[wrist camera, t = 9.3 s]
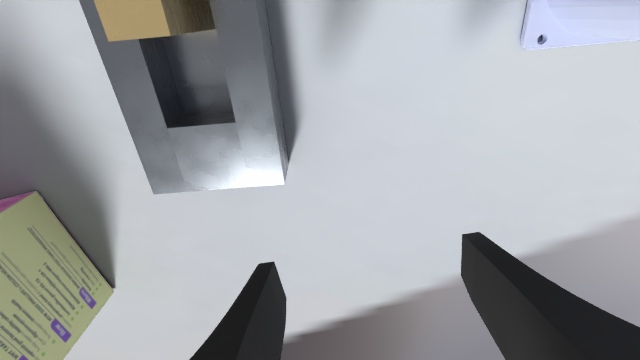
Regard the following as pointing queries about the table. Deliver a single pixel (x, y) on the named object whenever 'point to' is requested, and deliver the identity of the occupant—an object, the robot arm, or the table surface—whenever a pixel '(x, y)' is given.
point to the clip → (153, 18)
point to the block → (201, 100)
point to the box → (43, 283)
